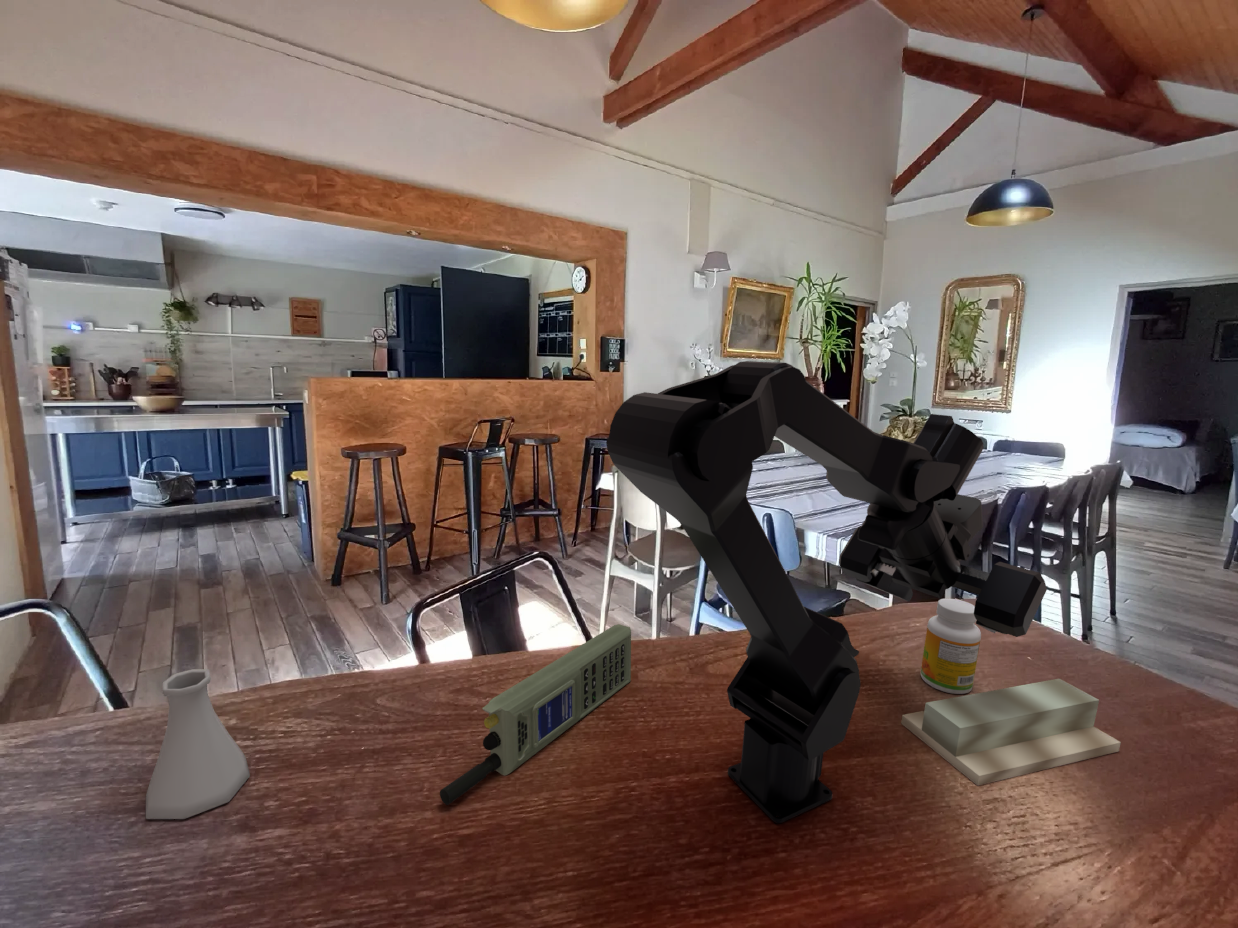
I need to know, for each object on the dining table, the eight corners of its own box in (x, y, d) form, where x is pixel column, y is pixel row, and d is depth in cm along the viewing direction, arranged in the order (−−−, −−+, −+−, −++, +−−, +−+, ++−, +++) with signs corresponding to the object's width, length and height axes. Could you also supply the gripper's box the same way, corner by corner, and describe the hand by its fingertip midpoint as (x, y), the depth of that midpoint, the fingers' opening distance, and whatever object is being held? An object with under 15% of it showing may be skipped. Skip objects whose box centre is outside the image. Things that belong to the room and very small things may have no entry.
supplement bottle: (921, 665, 71) (932, 591, 69) (972, 678, 68) (984, 602, 67) (918, 685, 67) (929, 607, 65) (972, 701, 64) (985, 620, 62)
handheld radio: (635, 683, 65) (458, 822, 45) (612, 674, 67) (432, 804, 47) (636, 628, 64) (454, 745, 44) (612, 621, 66) (428, 730, 46)
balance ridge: (977, 785, 51) (984, 745, 50) (901, 723, 59) (906, 688, 59) (1118, 751, 56) (1126, 714, 56) (1030, 698, 65) (1036, 666, 64)
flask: (163, 768, 50) (149, 662, 48) (259, 751, 52) (250, 650, 50) (126, 834, 43) (108, 714, 41) (239, 810, 45) (227, 696, 44)
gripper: (1058, 491, 51) (1077, 581, 60) (863, 457, 66) (901, 533, 74) (1007, 594, 48) (1035, 673, 57) (815, 533, 63) (860, 604, 71)
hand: (950, 612), depth 65 cm, fingers open, 9 cm apart
